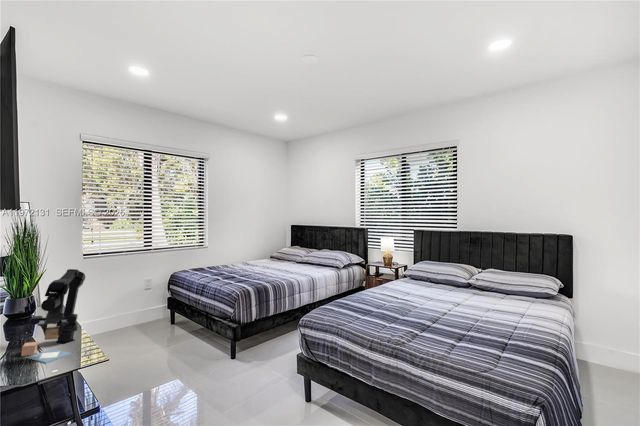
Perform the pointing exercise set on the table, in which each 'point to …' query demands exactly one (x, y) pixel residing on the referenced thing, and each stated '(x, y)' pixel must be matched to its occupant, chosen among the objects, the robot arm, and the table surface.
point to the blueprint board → (49, 355)
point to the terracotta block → (29, 348)
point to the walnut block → (52, 333)
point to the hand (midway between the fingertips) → (52, 335)
